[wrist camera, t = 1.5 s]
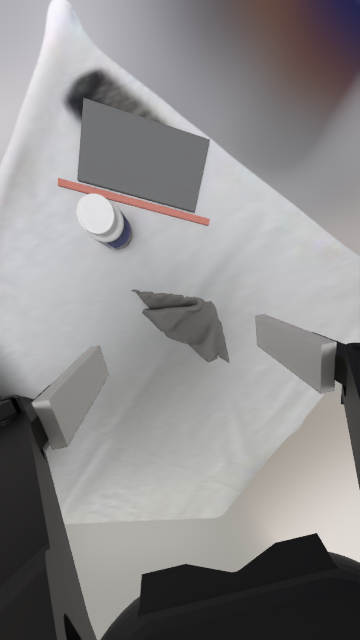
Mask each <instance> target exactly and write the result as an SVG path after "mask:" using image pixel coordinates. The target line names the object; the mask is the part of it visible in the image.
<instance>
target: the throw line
mask: <svg viewBox="0 0 360 640" xmlns="http://www.w3.org/2000/svg"><path fill="white" fill-rule="evenodd" d="M58 186H61V187H65V188H68V189H72V190H76V191H80V192H83V193H87V194H99V195H102V196H103V197H105V198H106V199H110V200H113V201H117V202H121V203H125V204H128V205H132V206H136V207H140V208H143V209H147V210H151V211H155V212H159V213H162V214H166V215H170V216H174V217H177V218H181V219H185V220H189V221H192V222H196V223H200V224H204V225H207V226H208V225H209V220H210V219H207V218H204V217H200V216H196V215H193V214H189V213H185V212H181V211H178V210H174V209H170V208H167V207H163V206H159V205H156V204H152V203H148V202H145V201H141V200H137V199H134V198H130V197H126V196H122V195H119V194H115V193H111V192H108V191H104V190H100V189H97V188H93V187H89V186H86V185H82V184H78V183H75V182H71V181H67V180H63V179H60V178H58Z"/></svg>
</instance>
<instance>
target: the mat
mask: <svg viewBox="0 0 360 640" xmlns="http://www.w3.org/2000/svg"><path fill="white" fill-rule="evenodd" d="M209 141H210V140H209V139H206V138H203V137H200V136H197V135H194V134H191V133H188V132H185V131H182V130H179V129H176V128H173V127H170V126H167V125H164V124H161V123H158V122H155V121H152V120H149V119H146V118H143V117H140V116H137V115H134V114H131V113H128V112H125V111H122V110H119V109H116V108H113V107H110V106H107V105H104V104H101V103H98V102H94V101H91V100H88V99H85V98H84V101H83V114H82V127H81V139H80V152H79V165H78V178H77V180H78V181H80V182H84V183H87V184H91V185H95V186H98V187H102V188H106V189H109V190H113V191H117V192H120V193H124V194H128V195H131V196H135V197H139V198H142V199H146V200H150V201H153V202H157V203H161V204H164V205H168V206H172V207H175V208H179V209H183V210H186V211H190V212H195V207H196V203H197V198H198V193H199V188H200V184H201V179H202V174H203V169H204V165H205V160H206V155H207V150H208V146H209Z"/></svg>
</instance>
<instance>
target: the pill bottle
mask: <svg viewBox="0 0 360 640" xmlns="http://www.w3.org/2000/svg"><path fill="white" fill-rule="evenodd" d="M77 217H78V220H79V222H80V224H81V225H82V227H83V228H84V229H85V230H86V231H87V233H88V234H89V235H90V236H91V237H92V238H94V239H95V240H97V241H99V242H101V243H102V244H104V245H106V246H108V247H110V248H113V249H122V248H124V247H126V246H127V245H128V244H129V242H130V240H131V237H132V230H131V226H130V224H129V222H128V221H127V219H126V218H125V217H124V215H123V214H122V212H121V211H120V209H119V208H118V207H117V206H116V205H115V204H114V203H113V202H111V201H109V200H107V199H106V198H105V197H103V196H102V195H99V194H88V195H85V196H84V197H82V198H81V200H80V201H79V203H78V205H77Z"/></svg>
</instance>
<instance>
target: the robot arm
mask: <svg viewBox="0 0 360 640" xmlns="http://www.w3.org/2000/svg"><path fill="white" fill-rule="evenodd" d="M255 321H256V335H257V346H258V347H260V348H261V349H262V350H264V351H265V352H266V353H268V354H269V355H270V356H271V357H273V358H274V359H275V360H277V361H278V362H279V363H281V364H282V365H283V366H285V367H286V368H287V369H289V370H290V371H291V372H293V373H294V374H295V375H296V376H298V377H299V378H300V379H302V380H303V381H304V382H306V383H307V384H308V385H310V386H311V387H312V388H314V389H315V390H316V391H318V392H319V393H320V394H321V393H326V392H331V391H334V387H335V380H336V381H337V382H339V383H341V384H342V395H341V404H344V406H345V412H346V418H347V423H348V429H349V433H350V439H351V445H352V450H353V456H354V461H355V467H356V472H357V477H358V483H359V488H360V343H348V344H343V343H340V342H338V341H335V340H332V339H328V338H327V337H325V336H322V335H319V334H317V333H313V332H309V331H307V330H304V329H301V328H299V327H296V326H294V325H291V324H289V323H286V322H283V321H281V320H278V319H276V318H273V317H270V316H268V315H265V314H261V315H256V316H255ZM108 376H109V373H108V370H107V367H106V364H105V360H104V357H103V354H102V351H101V348H100V346H95V347H90V348H89V349H88V350H87V351H86V352H85V353H84V354H83V355H82V356H81V357H80V358H79V359H78V360H77V361H76V362H74V363H73V364H72V365H71V366H70V367H69V368H68V369H67V370H66V371H65V372H64V373H63V374H62V375H61V376H60V377H59V378H58V379H57V380H55V381H54V382H53V383H52V384H51V385H49V386H48V387H47V388H46V389H45V390H44V391H43V392H42V393H40V394H39V395H38V396H37V398H35V399H34V400H31V399H28V398H24V397H19V396H18V395H12V396H8V397H5V398H2V399H0V640H97V639H96V636H95V634H94V631H93V629H92V626H91V623H90V620H89V617H88V613H87V610H86V606H85V602H84V598H83V595H82V591H81V587H80V583H79V580H78V575H77V572H76V568H75V564H74V560H73V556H72V552H71V549H70V545H69V541H68V537H67V533H66V529H65V526H64V522H63V518H62V514H61V510H60V506H59V503H58V499H57V495H56V491H55V487H54V483H53V480H52V476H51V472H50V468H49V464H48V460H47V457H46V453H45V451H46V449H47V448H48V447H49V445H51V447H52V449H58V448H63V447H68V446H69V444H70V442H71V441H72V439H73V437H74V435H75V434H76V432H77V430H78V428H79V427H80V425H81V423H82V421H83V420H84V418H85V416H86V414H87V413H88V411H89V409H90V407H91V406H92V404H93V402H94V400H95V399H96V397H97V395H98V393H99V392H100V390H101V388H102V386H103V385H104V383H105V381H106V379H107V378H108ZM101 640H360V563H359V562H357V561H354V560H352V559H350V558H347V557H345V556H342V555H339V554H335V553H331V552H328V551H327V550H326V548H325V546H324V545H323V543H322V541H321V539H320V538H319V536H318V534H317V533H315V534H312V535H307V536H303V537H299V538H294V539H290V540H286V541H282V542H277V543H275V544H273V545H272V546H271V547H269V548H268V549H267V550H265V551H264V552H263V553H261V554H260V555H259V556H257V557H256V558H255V559H254V560H252V561H251V562H250V563H248V564H247V565H246V566H244V567H243V568H242V569H241V570H239V571H237V572H226V571H221V570H215V569H210V568H204V567H199V566H194V565H188V564H184V565H180V566H176V567H171V568H167V569H163V570H159V571H155V572H150V573H146V574H142V580H141V593H140V597H138V598H137V599H136V600H134V601H133V602H132V603H131V604H130V605H129V606H128V607H127V608H126V609H125V610H124V611H123V612H122V613H121V614H120V615H119V616H118V618H117V619H116V620H115V621H114V622H113V623H112V624H111V626H110V627H109V628H108V630H107V631H106V633H105V634H104V636H103V637H102V639H101Z"/></svg>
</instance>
